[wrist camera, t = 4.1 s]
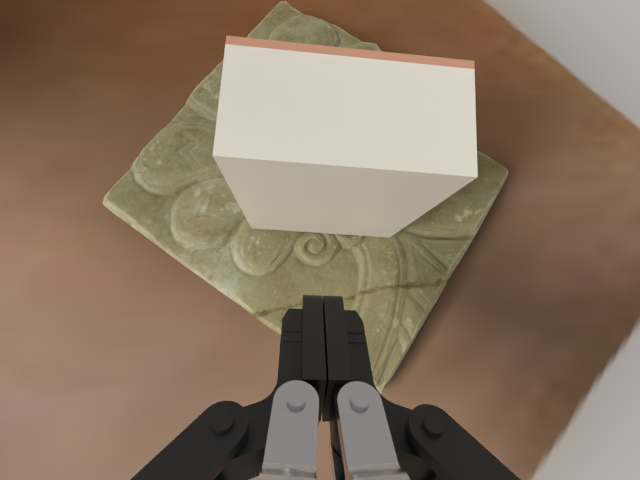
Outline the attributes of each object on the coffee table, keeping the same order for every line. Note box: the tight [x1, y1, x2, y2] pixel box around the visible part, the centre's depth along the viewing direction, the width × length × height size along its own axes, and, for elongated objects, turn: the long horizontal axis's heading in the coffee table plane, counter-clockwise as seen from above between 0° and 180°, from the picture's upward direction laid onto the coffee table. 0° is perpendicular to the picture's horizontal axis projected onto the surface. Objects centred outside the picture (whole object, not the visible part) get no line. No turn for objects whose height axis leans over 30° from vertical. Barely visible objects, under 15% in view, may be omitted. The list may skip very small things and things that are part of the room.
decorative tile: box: [103, 1, 508, 394], centre depth 23 cm, size 19×20×4 cm
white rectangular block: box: [212, 36, 478, 238], centre depth 16 cm, size 8×4×10 cm, turn 87°
